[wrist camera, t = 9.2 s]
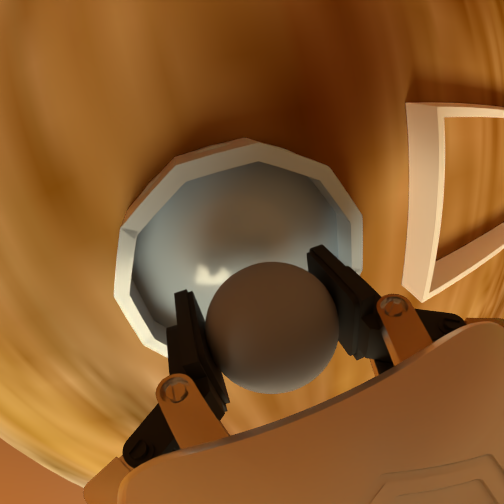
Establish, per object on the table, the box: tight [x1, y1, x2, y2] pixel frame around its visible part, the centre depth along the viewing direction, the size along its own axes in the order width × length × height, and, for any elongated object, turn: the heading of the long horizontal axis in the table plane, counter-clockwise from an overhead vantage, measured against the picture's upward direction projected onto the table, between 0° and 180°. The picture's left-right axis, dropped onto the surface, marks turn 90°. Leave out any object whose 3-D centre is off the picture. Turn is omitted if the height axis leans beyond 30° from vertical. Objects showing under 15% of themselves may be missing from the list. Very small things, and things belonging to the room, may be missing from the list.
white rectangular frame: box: [402, 102, 504, 303], centre depth 17 cm, size 13×21×2 cm, turn 102°
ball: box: [205, 262, 339, 394], centre depth 11 cm, size 5×5×5 cm
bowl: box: [114, 138, 363, 358], centre depth 14 cm, size 12×12×2 cm
